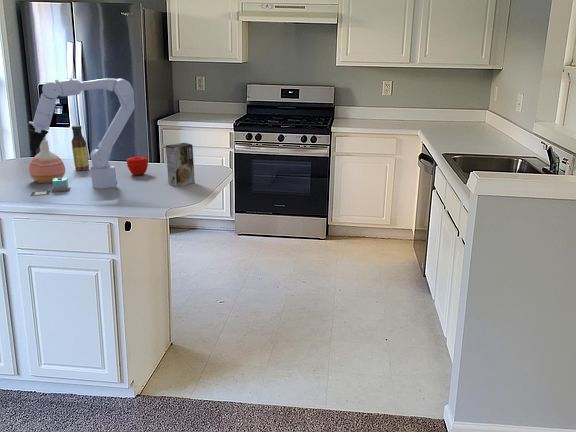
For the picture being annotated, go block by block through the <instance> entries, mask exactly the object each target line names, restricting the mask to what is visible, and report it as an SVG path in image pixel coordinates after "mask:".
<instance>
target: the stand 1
mask: <svg viewBox="0 0 576 432" xmlns="http://www.w3.org/2000/svg"><path fill="white" fill-rule="evenodd" d="M51 192H52V190H41V191H40V190H39V191H31V193H30V197H37V196H38V197H39V196H50V194H51Z"/></svg>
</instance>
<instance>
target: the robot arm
mask: <svg viewBox="0 0 576 432" xmlns="http://www.w3.org/2000/svg"><path fill="white" fill-rule="evenodd" d="M54 80H55V82H54V81H47V82H45V83H44V84H43V85H42V88H41V90H42V93H41V94H40V98H39V99H38V103H37V106H36V110H35V114H34V117H33V120H32V121H28V124H29V125H32V126H33V127H32V129H29V135H30V136H29V137H30V138H29V139H30V143H29V150H31V151H34V152H37V150H38V149H40V144H41V142H42V141H43V140H44V138H45V137H46V136H47V135H48V134H49V130H50V127H51V126H50V125H51V123H52V118H53V115H54V111H55V109H56V106H57V105H56V101H57V99H58V97H59V96H60V97H70V96H71V97H72V96H78V95H79V96H80V94H81V93H82V92H83V91H93V90H101V89H102V90H103V89H104V90H107V91H110V92H114V93H115V95H116V96H117V98H118V101H119V104H120V106H119V108H118V111H117V112H116V114H115V116H114V117H113V119H112V120H111V123H110V125H109V126H108V128H107V130H106V132H105V134H104V135H103V137H102V139H101V140H100V141H99V143H98V145H97V146H96V147H95V148H94V149H92V150H91V152H90V154H89V158H90V160H91V161H90V162H91V165H89V168H90V175H91V176H90V177H91V185H92V186H91V187H92V188H93V189H107V188H115V190H116V191H117V190H118V179H117V174H116V166H115V165H113V166H112V165H110V163H109V161H110V160H109V159H110V155H111V153H112V150H113V147H114V145H115V143H117V142H116V141H117V140H118V138H119V136H120V135H121V133H122V131H123V129H124V128H125V125H126V124H127V123H128V121H129V119H130V118H131V116H132V113H133V111H134V110H135V107H136V105H135V104H136V103H135V94H134V92H135V91H134V89H133V86H132V85H131V82H130V81H128V80H126V79H124V78H111V77H110V78H107V77H106V78H100V79H99V78H98V79H93V80H87V81H86V80H85V81H79V80H78V79H76V78H73V77H69V78H68V79H64V80H59V79H54Z"/></svg>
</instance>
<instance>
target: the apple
mask: <svg viewBox="0 0 576 432" xmlns="http://www.w3.org/2000/svg"><path fill="white" fill-rule="evenodd" d="M126 164H127V165H126V166H127V168H128V170H129V172H130V174H131V175H132V176H142V175H145V173H146V172H147V169H148V166H149V165H148V164H149V160H148V158H147V157H145V156H132V157H129V158H126Z"/></svg>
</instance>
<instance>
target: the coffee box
mask: <svg viewBox="0 0 576 432" xmlns="http://www.w3.org/2000/svg"><path fill="white" fill-rule="evenodd" d="M193 149H194V148H193V144H191V143H188V142H180V143H172V144H166V145H165V151H166V165H167V166H166V167H167V181H168V182H167V183H168V185H170V186H174V187H182V186H186V185H190V184H195V183H196V180H195V166H194V164H195V163H194V151H193Z"/></svg>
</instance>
